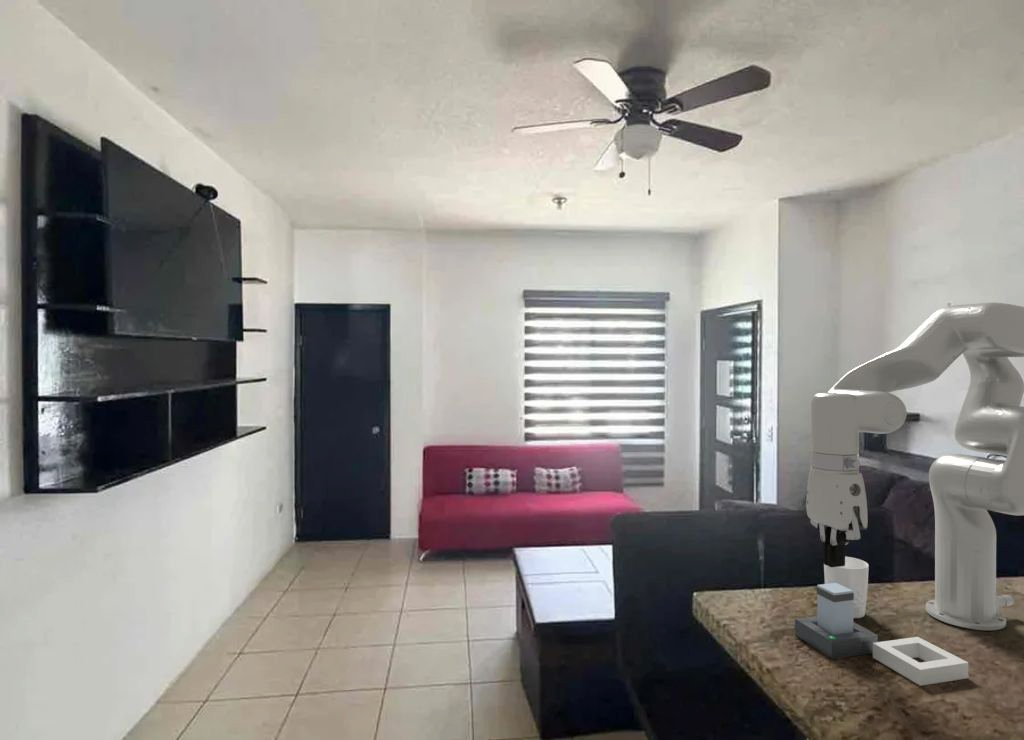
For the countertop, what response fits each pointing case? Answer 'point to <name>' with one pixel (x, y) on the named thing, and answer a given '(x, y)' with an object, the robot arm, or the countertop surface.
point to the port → (835, 639)
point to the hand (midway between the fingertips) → (834, 565)
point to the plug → (835, 608)
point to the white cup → (851, 581)
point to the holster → (932, 671)
